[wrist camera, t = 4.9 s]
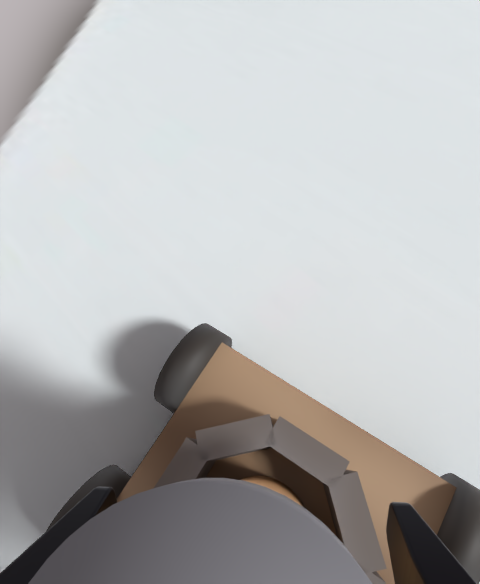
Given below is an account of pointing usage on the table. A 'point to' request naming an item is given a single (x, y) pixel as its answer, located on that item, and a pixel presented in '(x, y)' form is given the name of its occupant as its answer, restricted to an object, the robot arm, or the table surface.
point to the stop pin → (204, 539)
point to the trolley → (290, 455)
